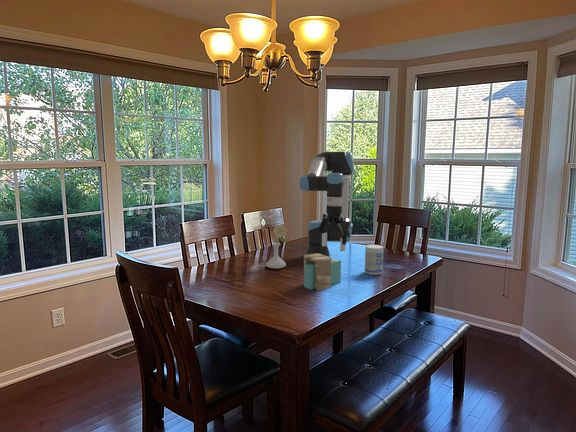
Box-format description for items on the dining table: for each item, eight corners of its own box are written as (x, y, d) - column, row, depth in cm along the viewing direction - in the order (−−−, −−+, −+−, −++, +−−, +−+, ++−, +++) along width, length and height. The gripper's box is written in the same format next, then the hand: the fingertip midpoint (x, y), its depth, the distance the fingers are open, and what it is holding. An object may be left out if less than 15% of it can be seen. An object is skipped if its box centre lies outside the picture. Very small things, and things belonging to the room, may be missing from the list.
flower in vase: (262, 268, 233) (261, 224, 229) (272, 263, 243) (272, 221, 239) (282, 271, 227) (282, 226, 223) (292, 266, 237) (292, 223, 233)
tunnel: (303, 285, 204) (303, 255, 202) (316, 282, 208) (316, 252, 206) (317, 291, 195) (317, 259, 193) (330, 288, 200) (331, 257, 197)
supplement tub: (379, 276, 219) (380, 249, 217) (362, 274, 223) (362, 247, 221) (384, 272, 227) (385, 245, 225) (368, 269, 232) (368, 243, 230)
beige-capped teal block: (303, 286, 200) (304, 264, 199) (333, 280, 211) (334, 258, 209) (310, 289, 196) (310, 266, 195) (340, 282, 207) (341, 260, 205)
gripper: (312, 203, 209) (311, 244, 212) (346, 208, 189) (345, 254, 192) (323, 202, 214) (322, 243, 217) (358, 207, 194) (356, 252, 197)
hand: (333, 248), depth 205 cm, fingers open, 13 cm apart
